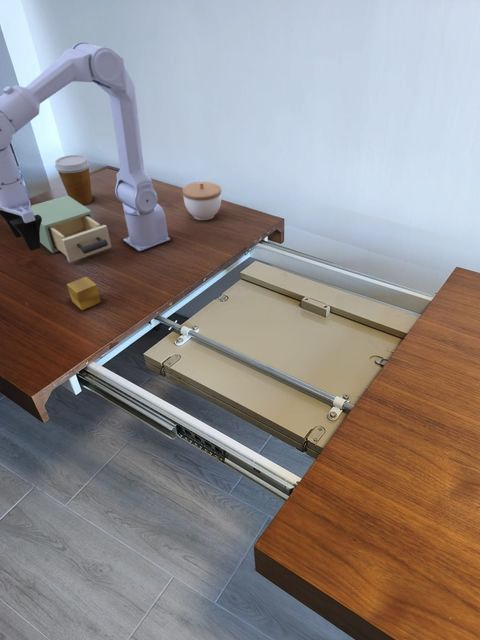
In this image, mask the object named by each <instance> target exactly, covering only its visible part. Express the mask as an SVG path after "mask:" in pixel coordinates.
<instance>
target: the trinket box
mask: <svg viewBox="0 0 480 640" xmlns="http://www.w3.org/2000/svg"><path fill="white" fill-rule="evenodd" d="M181 190H182V191H181V192H182V197H183V203H184V206H185V208H186V211H187V212H188V213H189V214H190V215H191V216H192V217H193V218H194V219H196V220H199V221H209V220H211V219H213V218H215V215H216V214H217V213H218V212H219V210H220V209H221V205H222V187H221V185H219V184H217V183H215V182H212V181H211V182H210V181H196V182H192V183H188V184H186V185H185V186H183V188H182V189H181Z"/></svg>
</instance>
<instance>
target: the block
mask: <svg viewBox="0 0 480 640" xmlns="http://www.w3.org/2000/svg"><path fill="white" fill-rule="evenodd" d="M66 286H67V289H68V293H69V296H70V299H71V302H72V303H73V304H74V305H75V306H76V307H77V308H78V309H80V311H84V310H86V309H89V308H91V307H93V306H97V305H98V304H100V303H102V300H101V297H100V293H99V290H98V286H97V283H95V282H94V281H92V280H91V278H89V277H88V276H84V277H81V278H79V279H76V280H74V281H71V282H68V283H66Z"/></svg>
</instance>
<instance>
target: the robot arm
mask: <svg viewBox="0 0 480 640" xmlns="http://www.w3.org/2000/svg"><path fill="white" fill-rule="evenodd" d="M73 82H79V83H81V82H82V83H95V84H96V85H97V86H98V87H100V89H102V90H103V91H104V92H105V93H107V94H108V96H109V100H110V109H111V114H112V122H113V128H114V135H115V141H116V148H117V156H118V162H119V171H117V173H116V175H115V177H116V184H115V187H114V192H115V196H116V198H117V201H118V200H119V202H120V203H122V208H123V212H124V218H125V223H126V228H127V233H128V237H125V238H123V242H124V243H126V244H127V245H128V246H130V247H132V248H133V249H135V250H136V251H137V252H142V251H145V250H147V249H150V248H153V247H155V246H157V245H161V244H163V243H165V242H168V241H170V240H171V238H170V236H169V232H168V225H167V219H166V218H167V217H166V214H165V211H164V209H163V207H162V206H161V205H160V204H159V203H158V194H157V192H156V190H155V189H154V185H153V180H152V178H151V177H150V176H149V174H148V172H147V171H146V169H145V163H144V155H143V147H142V139H141V138H142V137H141V129H140V119H139V112H138V103H137V95H136V87H135V83H134V81H133V80H132V77H131V76H130V73H129V72H128V70H127V68H126V67H125V61H124V58H123V57H122V56H120V55H119V54H118V53H117V52H115V51H114V50H113V49H111V48H110V47H107V46H99V45H94V44H91V43H88V42H85V41H79V42H77V43H75V44H74V45H73V46H72V47H69V48H67V49H65V50H64V51H63V52H62V54H61V55H60V57H58V58H57V59H56V60H54V62H53V63H52V64H50V65H49V66H48V67H47V68H46V69H45V70H44V71H42V72H41V73H40V74H39V75H38V76H37V77H36V78H34V79H33V80H32V81H31V82H30V83H28V85H26V86H25V87H24V86H21V85H13V86H9V85H6V87H4V88H2V91H3V92H4V93H3V94H2V95H0V216H1V218H2V219H3V220H4V221H5V223H6V224H7V226H8V228H9V229H10V231H11V233H12V234H13V236H14V237H15V238H16V239H18V238H22V240H23V242H24V243H25V245H26V247H27V249H28V250H29V251H31V252H32V251H36V250H39V249H41V243H40V225H41V222H42V218H41V216H40V215H35V216H34V214H33V211H32V210H31V206H32V203H31V200H30V198H29V197H28V194H27V191H26V187H25V184H24V182H23V181H24V180H23V178H22V176H21V172H20V170H19V167H18V164H17V160H16V158H15V154H14V152H13V150H12V147H11V144H12V141H13V135H15V134H16V133H17V132H18V131H20V130H21V129H22V128H24V127H25V126H26V125H27V124H28V123H30V122H31V121H32V120H34V119H35V118H36V117H37V116H38V115H40V110H41V109H40V108H41V106H40V105H41V104H42V103H43V102H45V101H46V100H48V99H49V98H50V97H52V96H53V95H55V94H56V93H58V92H59V91H61V90H63V88H65V87H66V86H68V85H69V84H71V83H73Z"/></svg>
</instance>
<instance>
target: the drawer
mask: <svg viewBox="0 0 480 640" xmlns="http://www.w3.org/2000/svg"><path fill="white" fill-rule="evenodd" d="M48 231H49V234H50V237H51V240H52V243H53V245H54V246H55V247H56V248H57V249H58V250H60V251H59V252H61V253H62V254H63V255H64V256H65V257H66V259H67V262H68V263H72V262H75V261H78V260H81V259H83V258H86V257H89V256H91V255H95V254H97V253H99V252H102V251H105V250H108V249H110V248H112V243H111V238H110V234H109V229H108V225H106V224H102V225H101V223H99V222H98V221H96V220H94V218H93V219H91V218H90V217H88V216H87V215H85V216H82V217H79V218H76V219H73V220H70V221H67V222H63V223H60V224H57V225H54V226H51V227H48Z"/></svg>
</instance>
